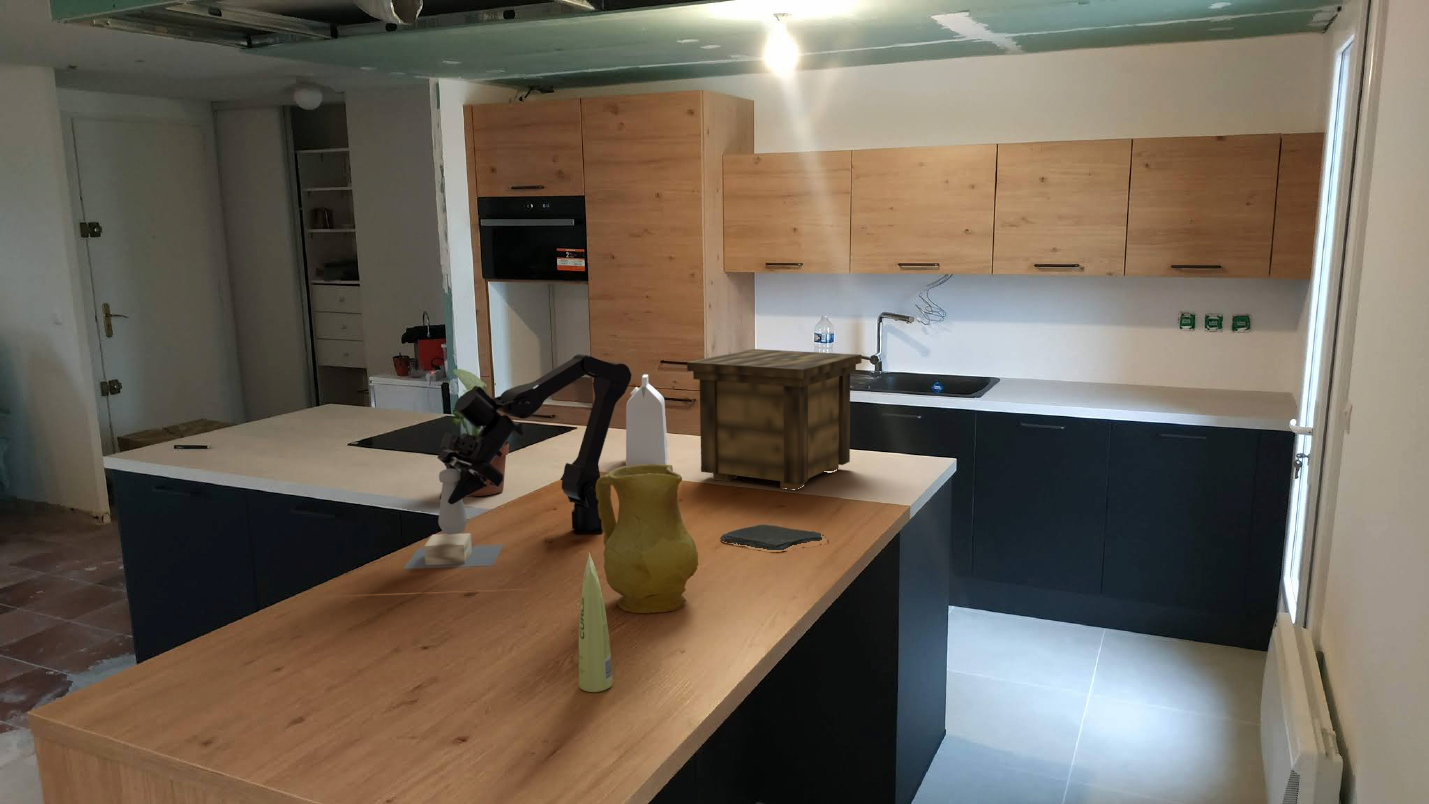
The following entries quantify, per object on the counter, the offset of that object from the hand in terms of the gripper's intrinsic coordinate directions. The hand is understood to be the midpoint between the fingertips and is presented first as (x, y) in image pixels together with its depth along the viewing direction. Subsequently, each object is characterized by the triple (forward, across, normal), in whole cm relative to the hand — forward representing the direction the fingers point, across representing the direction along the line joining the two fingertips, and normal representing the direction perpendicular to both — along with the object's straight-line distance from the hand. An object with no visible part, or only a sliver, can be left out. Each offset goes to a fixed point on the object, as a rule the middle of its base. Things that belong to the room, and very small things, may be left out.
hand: (445, 501), depth 203 cm
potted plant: (-14, -48, +34) cm, 60 cm away
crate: (-62, -8, +83) cm, 104 cm away
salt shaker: (+4, 0, +6) cm, 7 cm away
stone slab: (-31, +35, +52) cm, 70 cm away
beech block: (+8, -3, +10) cm, 13 cm away
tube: (+17, +68, +2) cm, 70 cm away
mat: (+8, -3, +11) cm, 14 cm away
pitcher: (-3, +45, +22) cm, 50 cm away
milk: (-51, -46, +71) cm, 99 cm away
